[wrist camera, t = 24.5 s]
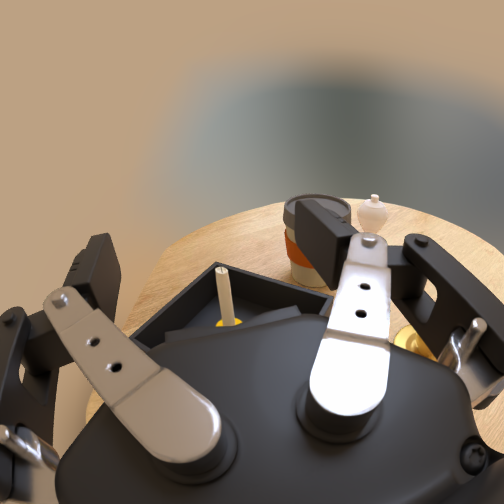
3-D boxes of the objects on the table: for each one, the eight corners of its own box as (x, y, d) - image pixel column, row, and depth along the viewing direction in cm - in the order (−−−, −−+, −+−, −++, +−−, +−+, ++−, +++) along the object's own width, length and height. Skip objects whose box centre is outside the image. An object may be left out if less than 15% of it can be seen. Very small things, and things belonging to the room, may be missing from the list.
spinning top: (356, 230, 74) (361, 187, 67) (384, 236, 70) (391, 193, 64) (351, 244, 68) (356, 197, 62) (381, 251, 65) (389, 204, 58)
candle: (245, 335, 45) (237, 250, 37) (254, 360, 41) (248, 274, 32) (213, 342, 44) (195, 258, 36) (219, 368, 40) (201, 283, 31)
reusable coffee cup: (275, 287, 56) (274, 215, 48) (290, 253, 66) (291, 190, 58) (340, 298, 52) (351, 224, 44) (346, 261, 62) (353, 197, 54)
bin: (141, 368, 40) (126, 339, 37) (220, 291, 56) (215, 261, 52) (265, 438, 31) (264, 416, 27) (328, 328, 46) (334, 296, 42)
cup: (394, 320, 46) (402, 297, 43) (452, 329, 42) (463, 307, 39) (390, 375, 37) (401, 352, 34) (458, 383, 32) (474, 361, 30)
